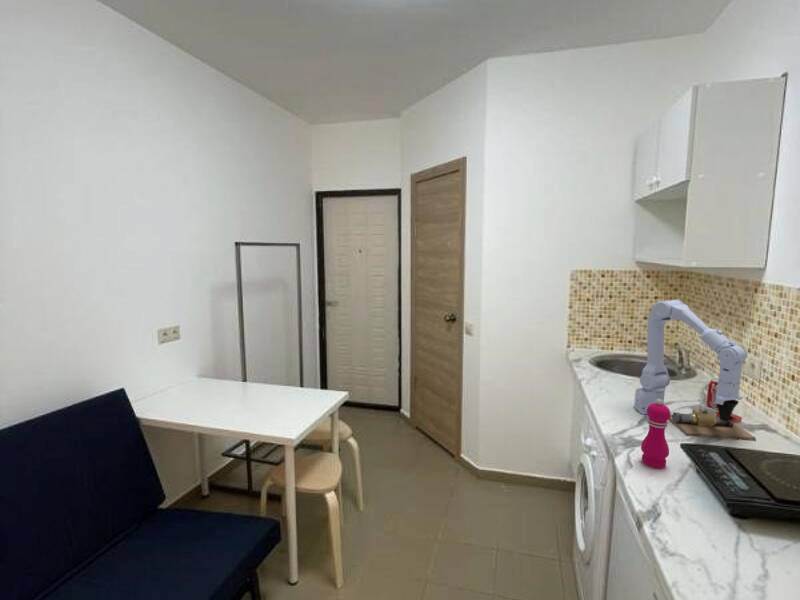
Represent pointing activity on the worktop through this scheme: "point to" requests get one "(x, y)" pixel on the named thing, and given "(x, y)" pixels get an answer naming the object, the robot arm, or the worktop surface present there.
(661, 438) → the pepper mill
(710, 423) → the valve pipe
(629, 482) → the worktop surface
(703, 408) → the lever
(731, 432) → the mounting board
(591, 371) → the worktop surface
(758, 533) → the worktop surface
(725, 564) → the worktop surface
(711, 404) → the soda can
